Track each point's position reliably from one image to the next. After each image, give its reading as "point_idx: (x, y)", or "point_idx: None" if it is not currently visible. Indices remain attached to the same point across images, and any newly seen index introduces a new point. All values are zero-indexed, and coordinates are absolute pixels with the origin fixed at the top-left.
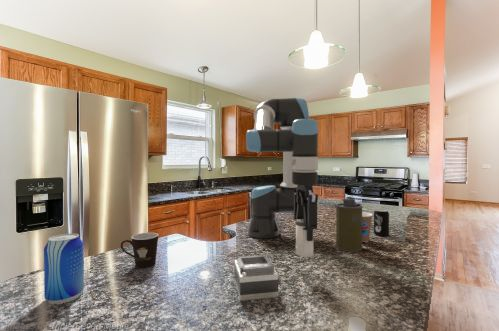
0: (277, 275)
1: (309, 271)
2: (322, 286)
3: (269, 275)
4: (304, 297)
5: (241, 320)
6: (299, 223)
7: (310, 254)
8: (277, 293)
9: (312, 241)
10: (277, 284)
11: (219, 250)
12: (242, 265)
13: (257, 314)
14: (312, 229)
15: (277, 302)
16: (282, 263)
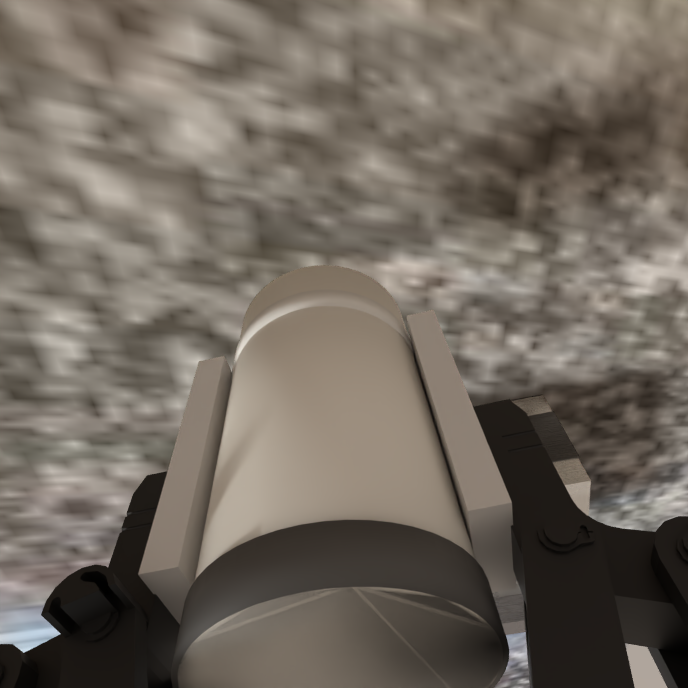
0: (587, 477)
1: (206, 193)
2: (456, 146)
3: (587, 510)
4: (573, 280)
5: (674, 497)
6: None
7: (394, 306)
8: (548, 408)
9: (460, 381)
10: (567, 440)
11: (10, 622)
12: (518, 625)
13: (655, 459)
14: (610, 538)
15: (589, 397)
16: (99, 356)
